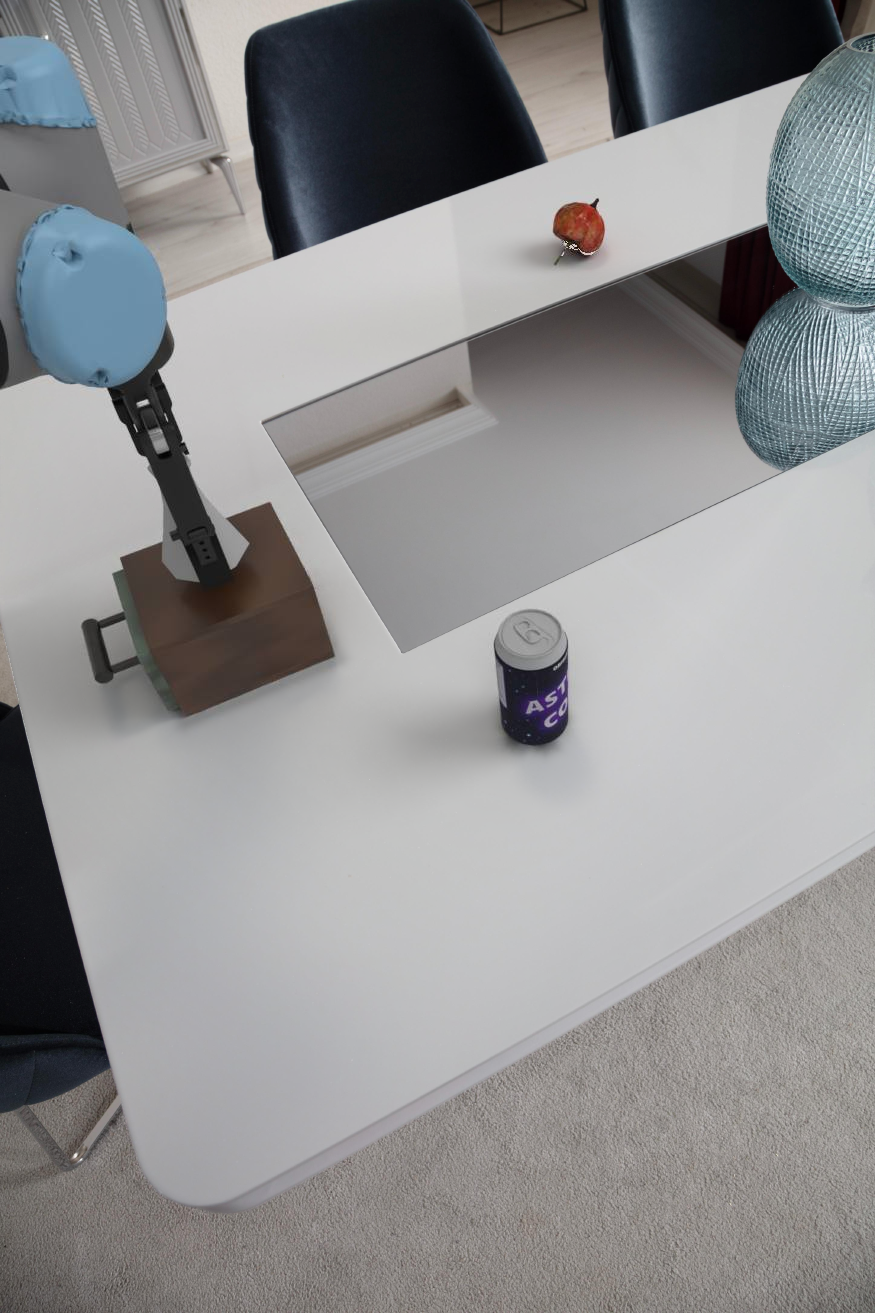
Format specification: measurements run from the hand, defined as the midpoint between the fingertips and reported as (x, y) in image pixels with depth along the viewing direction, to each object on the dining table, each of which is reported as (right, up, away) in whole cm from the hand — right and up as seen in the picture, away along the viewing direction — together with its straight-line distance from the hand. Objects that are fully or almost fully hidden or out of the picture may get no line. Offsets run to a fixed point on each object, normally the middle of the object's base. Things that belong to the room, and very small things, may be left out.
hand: (205, 552), depth 80 cm
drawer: (-2, -8, +8) cm, 12 cm away
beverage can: (+28, -15, -1) cm, 32 cm away
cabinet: (+1, -8, +9) cm, 12 cm away
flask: (0, 0, 0) cm, 0 cm away
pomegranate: (+39, +46, +48) cm, 78 cm away
